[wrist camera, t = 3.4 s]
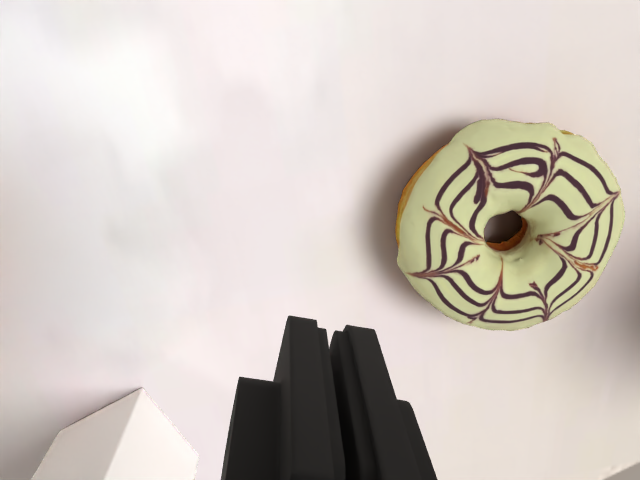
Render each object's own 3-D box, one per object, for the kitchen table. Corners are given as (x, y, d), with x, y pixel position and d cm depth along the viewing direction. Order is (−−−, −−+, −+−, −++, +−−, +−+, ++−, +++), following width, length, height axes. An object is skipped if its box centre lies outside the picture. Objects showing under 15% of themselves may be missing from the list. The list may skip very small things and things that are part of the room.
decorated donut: (438, 85, 25) (463, 91, 21) (626, 154, 27) (677, 171, 23) (362, 273, 28) (373, 306, 25) (534, 324, 30) (567, 361, 26)
